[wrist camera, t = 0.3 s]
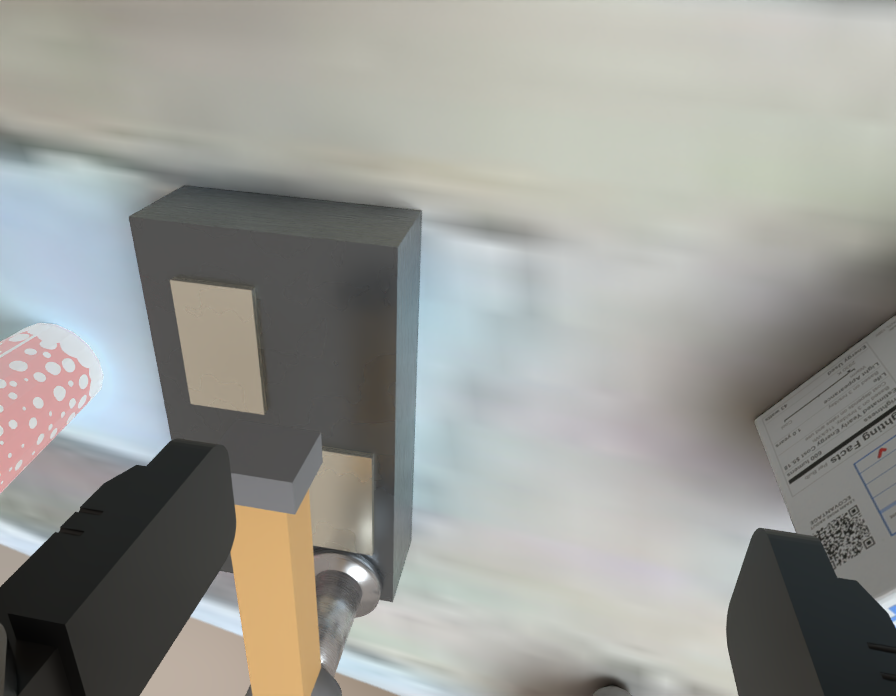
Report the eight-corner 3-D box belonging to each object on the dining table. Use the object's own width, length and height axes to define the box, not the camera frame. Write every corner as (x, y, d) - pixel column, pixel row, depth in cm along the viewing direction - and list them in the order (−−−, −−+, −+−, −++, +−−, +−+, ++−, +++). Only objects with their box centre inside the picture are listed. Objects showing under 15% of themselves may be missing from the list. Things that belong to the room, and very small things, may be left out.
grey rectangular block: (184, 185, 28) (23, 275, 20) (421, 210, 27) (351, 317, 19) (234, 523, 38) (138, 677, 30) (410, 554, 36) (361, 722, 28)
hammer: (223, 417, 21) (185, 465, 19) (333, 433, 21) (306, 484, 19) (263, 697, 29) (238, 754, 27) (345, 714, 28) (326, 773, 26)
